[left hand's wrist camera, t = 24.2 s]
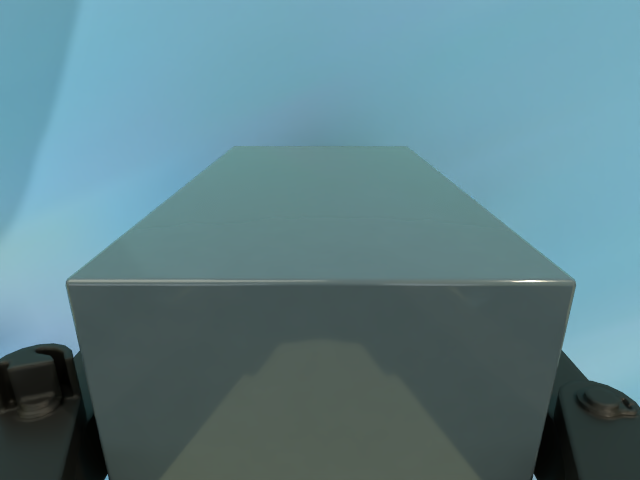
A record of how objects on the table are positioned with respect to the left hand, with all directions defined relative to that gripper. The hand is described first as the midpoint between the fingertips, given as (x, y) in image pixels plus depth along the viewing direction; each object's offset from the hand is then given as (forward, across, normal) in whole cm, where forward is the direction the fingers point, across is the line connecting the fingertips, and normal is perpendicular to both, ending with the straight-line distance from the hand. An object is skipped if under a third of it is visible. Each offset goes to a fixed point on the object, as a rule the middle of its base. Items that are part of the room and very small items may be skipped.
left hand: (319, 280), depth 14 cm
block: (+3, 0, 0) cm, 3 cm away
